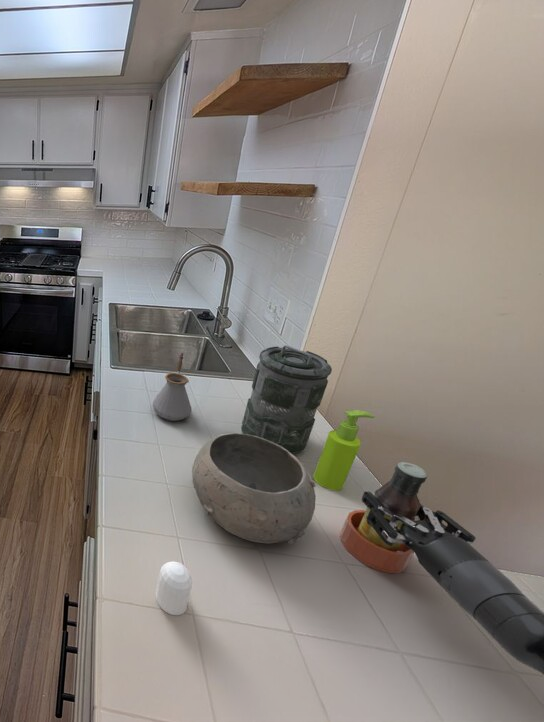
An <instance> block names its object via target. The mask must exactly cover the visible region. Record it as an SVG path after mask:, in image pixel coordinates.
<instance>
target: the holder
mask: <svg viewBox="0 0 544 722" xmlns="http://www.w3.org/2000/svg"><path fill="white" fill-rule="evenodd" d="M365 512H366V509H356V510H352V511H350V512H349V513H348V515H347V517H346V518H345V521H344V523H343V525H342V527H341V530H340V533H339V538H340V542H341V543H342V545H343V547H344V548H345V550H347V552H348V553H349V554H350V555H352V556H353V557H354V558H355V559H356V560H358V561H359V562H361V563H362V564H364V565H366V566H367V567H369V568H372V569H374V570H377V571H379V572H383V573H387V574H399V573H403V571H404V570H406V568H407V567H408V565H409V563H410V561H411V559H412V558H413V556H414V554H415V552H414V551H413V550H411V549H410V548H408V547H407V546H405V545H404V544H403V543H401V545H400V547H399V549H398V551H397V552H394V551H389V550H387V549H384V548H381V547H379V546H377V545H375V544H373V543H371V542H370V541H368V540H367V539H365V538H364V537H363V536H361V535H360V534H359V533H358V531H357V529H358V527H359V525H360V523H361V521H362V518H363V516H364V514H365Z"/></svg>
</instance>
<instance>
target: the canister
mask: <svg viewBox="0 0 544 722" xmlns="http://www.w3.org/2000/svg"><path fill="white" fill-rule="evenodd" d="M258 358H259V362H258V363H257V364H256V369H255V372H254V376H253V379H252V384H251V389H252V390H251V394H250V397H249V398H247V403H246V407H245V411H244V414H243V418H242V422H241V428H240V429H241V432H242V433H241V434H249V435H253V436H257V437H260V438H263V439H266V440H269V441H271V442H273V443H275V444H277V445H280V446H282V447H283V448H285V449H286V450H288V451H289V452H290V453H291V454H293V455H294V456H297V455H299V454H302V453H303V452H304V451H305V450H306V447H307V445H308V442H309V439H310V436H311V434H312V430H313V428H314V424H315V421H316V418H315V416H316V412H317V410H318V408H319V407H320V406H321V403H322V400H323V397H324V395H325V392H326V389H327V386H328V383H329V380H328V378H329V376H330V375H331V374H332V370H333V368H332V366H331V365H330V364H329V362H328V360H327V359H326V358H324V357H323V356H321V355H319V354H317V353H314V352H312V351H309V350H306V351H304V350H300V349H297V348H295V347H292V346H290V345H287V344H284V345H283V346H282V347H280V346H271V347H270V346H269V347H266V348H264V349H263V350H262V351H261V352H260V353H259V357H258Z"/></svg>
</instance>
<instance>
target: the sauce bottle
mask: <svg viewBox="0 0 544 722" xmlns="http://www.w3.org/2000/svg"><path fill="white" fill-rule="evenodd" d="M427 479H428V473H427V472H426V470H424V469H423V468H421V467H420V466H419V465H416V464H413V463H411V462H405V461H403V462H402V461H401V462H398V463H396V466H395V467H394V472H393V475H392V477H391V478H390V480H389V481H387V482H386V483H384V484H383V485H381V486H380V487H379V488H378V489H376V490H375V491H374V493H373V495H374V496H375V497H376V498H377V499H378V500H379V501H380V502H381V503H382V504H383V505H384V506H383V507H385V508H387V509H388V510H390V511H392V512H393V513H399V514H401V515H403V516H404V517H406V518H408V519H409V520H415V521H416V517H417V516H416V514H417V512H418V511H419V508H420V504H421V503H420V499H419V497H418V494H419V491H420V488H421V486H422V484H424V483H425V482H426V480H427ZM365 511H366V512H365V514H364V516H363V518H362V521H361V523H360V525H359V527H358V529H357V531H358V533H359V534H360V535H361V536H363V537H364V538H365V539H367V540H368V541H370V542H371V543H373V544H375V545H377V546H379V547H381V548H384V549H387V550H389V551H394V552H397V551H398V549H399V547H400V545H401V543H396V542H394V543H393V545H392V546H389V545H387V544H386V543H384V541H383V540H382V539H381V537H380V536H379V535H378V534H377V532H376V531H375V530H374V528H373V527H372V526H371V525H370V523H369V522H368V521H367V519H366V518H367V516H368V514H369V512H370V509H369V508H368V507H367V508H366V509H365ZM384 517H385V518H386V519H388V520H390V521H391V518H390V517H389V516H387V515H384ZM376 521H377V520H376ZM401 525H402V522H401V521H399V523H398V525H397V527H398V528H399V529H400V527H401Z"/></svg>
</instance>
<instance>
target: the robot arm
mask: <svg viewBox="0 0 544 722" xmlns="http://www.w3.org/2000/svg"><path fill="white" fill-rule="evenodd" d="M361 502H362V503H363V504H364V505H365V506H366V507H367V508H369V509H370V512H369V514H368V516H367V518H366V519H367V521H368V522H369V523H370V525H371V526H372V527H373V528H374V530H375V531H376V532H377V534H378V535H379V536H380V537H381V539H382V540H383V541H384V543H386V544H387V545H389V546H392V545H393V543H394V542H396V543H403V544H404V545H405V546H407V547H408V548H410V549H411V550H413V551H414V554H415V555H416V558H417V561H418V562H419V564H420V566H421V567H422V568H423V569H424V570H425V572H427V573H428V574H429V575H430V576H431V577H432V578H433V579H434V580H435V582H437V583H438V585H440V587H441V588H442V589H443V590H444V591H445V592H447V594H448V595H449V596H450V597H451V598H452V599H453V600H454V601H455V603H456V604H458V605H459V606H460V607H461V609H463V610H464V611H465V612H466V613H467V614H468V615H470V616H471V617H472V618H473V619H474V620H475V621H476V622H477V623H478V624H479V626H481V627H482V628H483V629H484V631H485V632H486V633H488V635H489V636H490V637H491V638H492V639H493V640H494V641H495V642H496V643H497V644H498V645H499V646H500V647H501V648H502V649H503V650H504V651H505V652H506V653H507V654H509V655H510V656H511V657H512V658H513V659H515V660H516V661H518V662H519V663H521V664H523V665H525V666H527V667H529V668H532V669H533V670H535V671H537V672H539V673H541V675H543V676H544V611H543V610H542V609H541V608H540V607H538V606H537V605H536V604H535V603H534V602H533V601H532V600H531V599H529V598H528V597H527V595H525V594H524V593H523V592H522V591H521V590H520V588H519V587H518V586H517V585H516V584H515V583H514V582H513V581H512V580H511V579H510V578H508V577H507V576H506V575H505V574H504V573H503V572H502V571H501V570H500V569H499V568H497V567H496V566H495V565H494V564H493V563H492V562H491V561H489V560H488V559H487V558H486V557H485V556H483V554H481V553H480V552H479V551H478V550H477V549H476V548H475V547H473V544H474V542H475V540H476V539H477V538H476V535H473V534H472V533H471V532H470V531H468V530H467V529H466V528H465V527H463V526H462V525H460V524H459V522H457V521H455V520H454V519H452V517H450V516H449V515H448V514H447V513H445V512H443V511H441V510H438V509H437V510H436V511H433V510H431V509H430V508H429V507H425V506H424V505H423V504H422V503H420V508H419V511H418V512H417V514H416V516H415V517H417V520H416V519H415V520H409V519H408V518H406V517H404V516H403V515H401V514H399V513H393V512H392V511H390V510H388V509H387V508H385V507H383V506H384V505H383V504H382V503H381V502H380V501H379V500H378V499H377V498H376V497H375V496H374V493H372V492H371V491H365V490H364V491H363V494H362V496H361ZM384 515H387V516H389V517H390V518H391V521H390V520H388V519H386V518H385V517H384ZM376 520H377V521H376ZM399 521H401V522H402V525H401V527H400V529H399V528H398V527H397V525H398V523H399ZM443 521H444V522H445V523H446V524H447V525H446V524H444V523H443Z"/></svg>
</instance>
